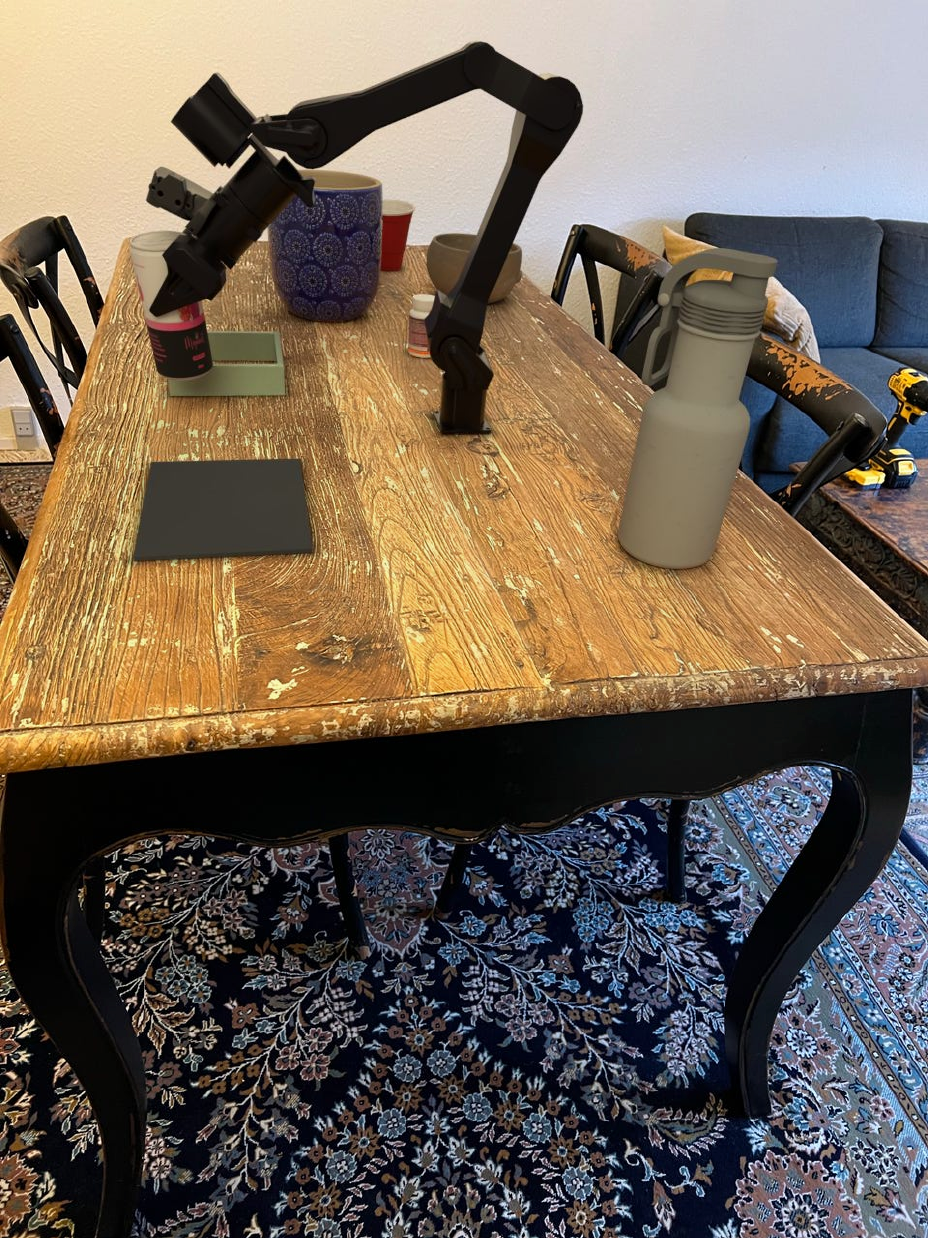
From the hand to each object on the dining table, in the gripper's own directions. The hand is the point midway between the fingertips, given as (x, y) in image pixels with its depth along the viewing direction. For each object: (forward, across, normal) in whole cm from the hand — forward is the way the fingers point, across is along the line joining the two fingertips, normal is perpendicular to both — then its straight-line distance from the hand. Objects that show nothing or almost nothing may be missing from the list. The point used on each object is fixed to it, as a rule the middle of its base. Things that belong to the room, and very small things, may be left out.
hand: (158, 304), depth 95 cm
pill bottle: (-13, -28, +33) cm, 45 cm away
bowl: (-21, -61, +41) cm, 76 cm away
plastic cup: (-10, -82, +30) cm, 87 cm away
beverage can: (+4, -1, +7) cm, 8 cm away
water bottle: (-28, +30, +48) cm, 63 cm away
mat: (+3, +23, +16) cm, 28 cm away
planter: (-2, -47, +22) cm, 52 cm away
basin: (+6, -14, +13) cm, 20 cm away
